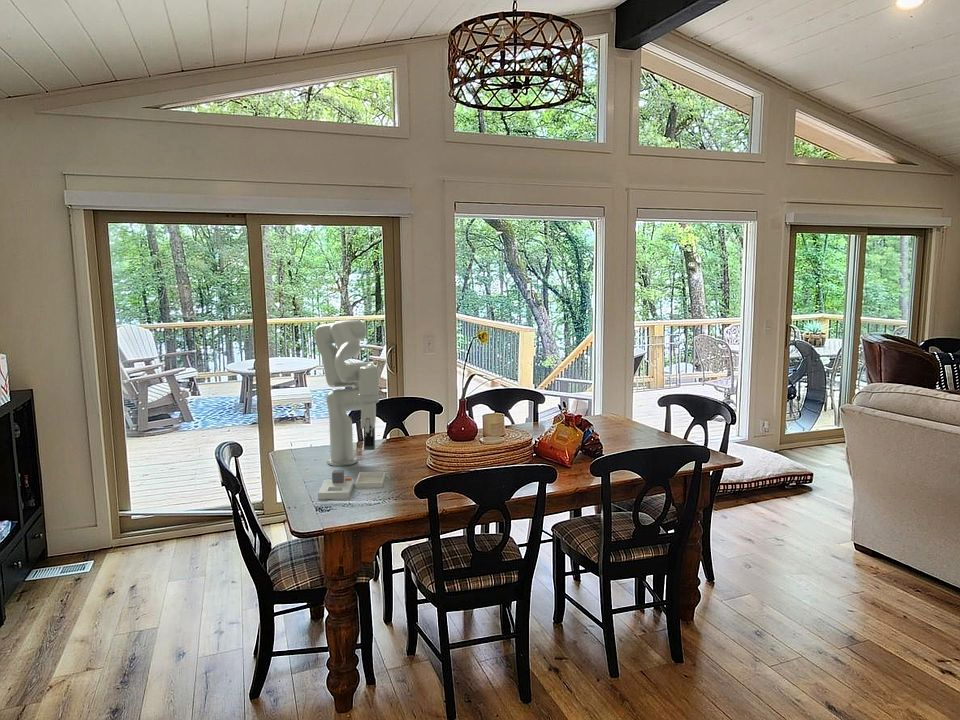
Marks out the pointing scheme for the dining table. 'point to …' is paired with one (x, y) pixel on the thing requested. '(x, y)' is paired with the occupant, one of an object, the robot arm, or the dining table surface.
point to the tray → (370, 479)
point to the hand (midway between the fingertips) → (369, 444)
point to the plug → (373, 440)
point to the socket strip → (336, 486)
